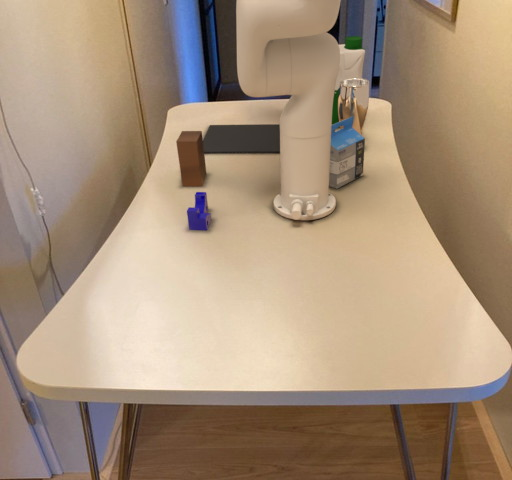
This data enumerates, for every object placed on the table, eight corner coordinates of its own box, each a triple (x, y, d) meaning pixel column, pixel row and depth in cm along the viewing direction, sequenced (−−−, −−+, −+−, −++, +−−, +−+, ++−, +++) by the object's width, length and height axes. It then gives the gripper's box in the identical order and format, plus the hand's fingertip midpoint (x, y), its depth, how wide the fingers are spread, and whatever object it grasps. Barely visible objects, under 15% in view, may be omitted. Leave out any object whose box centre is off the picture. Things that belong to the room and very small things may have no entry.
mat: (287, 153, 132) (287, 151, 132) (198, 153, 135) (197, 151, 134) (291, 125, 146) (291, 124, 145) (210, 126, 148) (209, 125, 148)
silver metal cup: (333, 152, 131) (337, 86, 121) (337, 141, 136) (340, 77, 126) (363, 154, 130) (368, 87, 120) (365, 142, 135) (371, 77, 125)
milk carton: (362, 126, 143) (369, 41, 130) (328, 130, 142) (332, 45, 129) (351, 115, 150) (357, 33, 136) (319, 118, 149) (322, 36, 136)
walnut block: (202, 186, 121) (196, 141, 114) (182, 186, 121) (176, 141, 115) (206, 174, 125) (201, 130, 119) (187, 174, 126) (181, 130, 119)
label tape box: (336, 189, 116) (339, 131, 108) (322, 184, 119) (324, 127, 111) (363, 176, 121) (368, 119, 113) (349, 171, 123) (352, 115, 115)
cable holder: (207, 230, 106) (204, 211, 103) (189, 229, 107) (186, 211, 104) (215, 210, 112) (213, 192, 109) (198, 210, 112) (196, 191, 110)
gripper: (226, -81, 107) (232, 19, 118) (315, -85, 105) (313, 17, 116) (232, -83, 113) (237, 12, 124) (316, -88, 110) (314, 10, 122)
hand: (274, 14), depth 120 cm, fingers open, 9 cm apart
